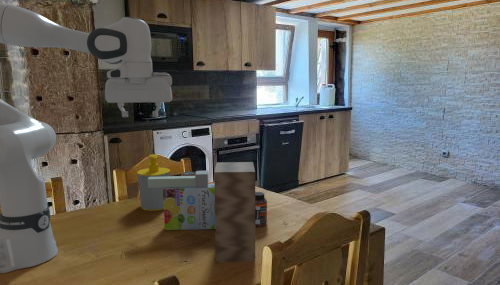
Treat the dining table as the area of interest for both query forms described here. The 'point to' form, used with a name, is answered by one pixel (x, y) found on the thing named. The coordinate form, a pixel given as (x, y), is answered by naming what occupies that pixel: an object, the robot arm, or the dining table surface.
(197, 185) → the bar
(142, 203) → the grey canister
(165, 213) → the snack box
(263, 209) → the supplement bottle
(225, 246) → the walnut stand
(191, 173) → the beer can
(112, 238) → the dining table surface
